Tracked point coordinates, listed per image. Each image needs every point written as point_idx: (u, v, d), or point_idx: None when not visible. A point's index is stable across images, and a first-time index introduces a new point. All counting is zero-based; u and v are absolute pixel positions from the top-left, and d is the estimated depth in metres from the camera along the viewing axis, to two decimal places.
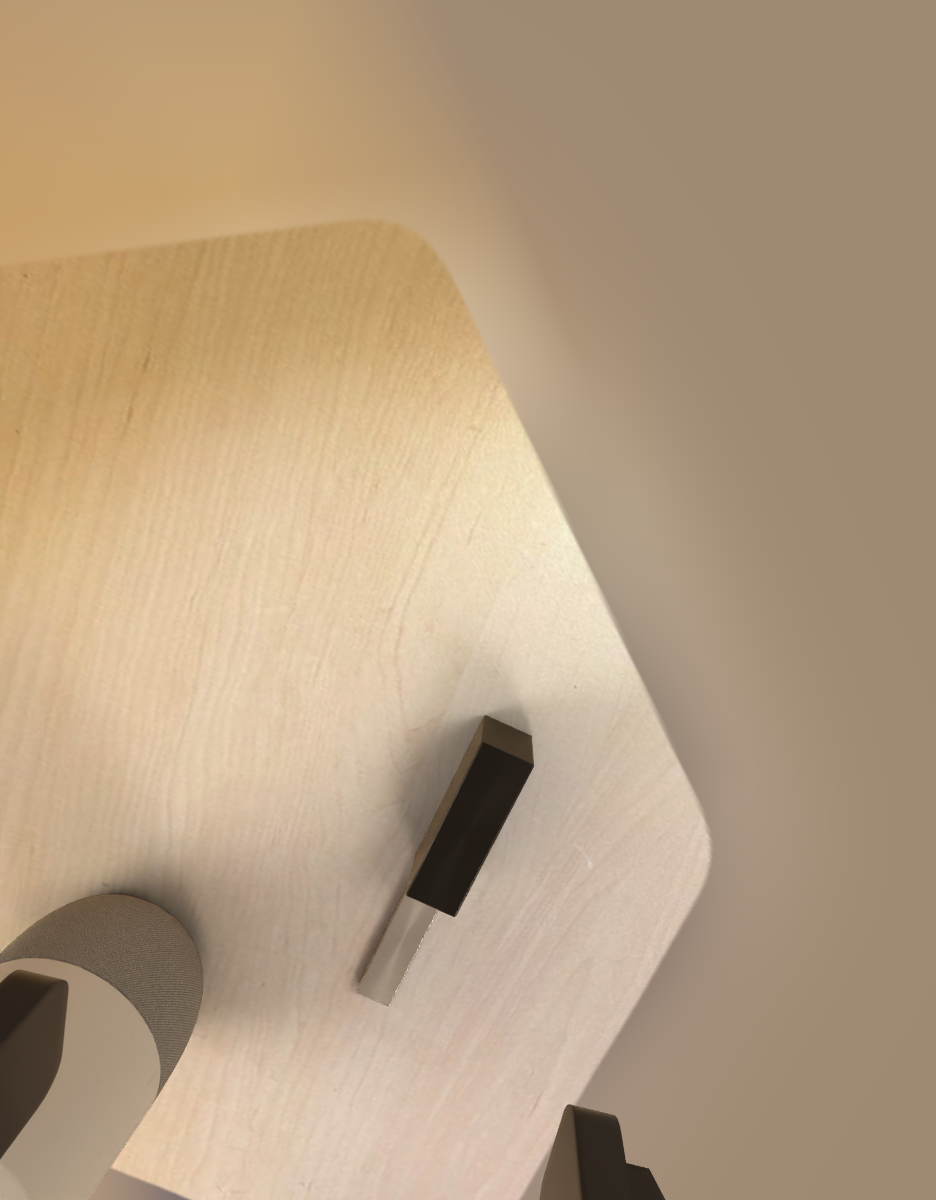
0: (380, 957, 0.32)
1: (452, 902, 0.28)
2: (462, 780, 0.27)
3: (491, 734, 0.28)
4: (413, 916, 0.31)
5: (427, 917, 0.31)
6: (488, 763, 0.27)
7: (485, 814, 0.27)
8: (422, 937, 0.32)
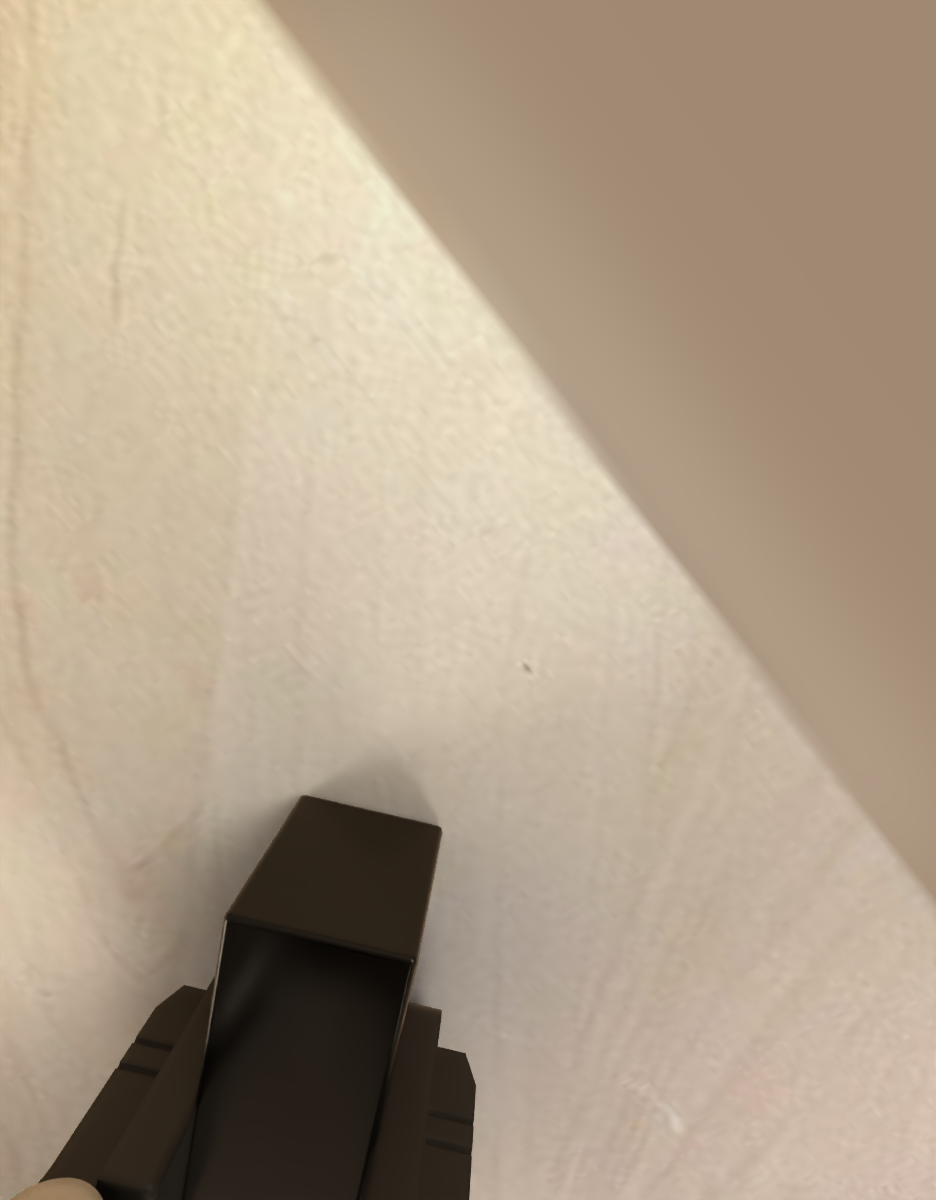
0: None
1: None
2: (206, 1041, 0.08)
3: (287, 865, 0.09)
4: None
5: None
6: (266, 978, 0.08)
7: (305, 1132, 0.08)
8: None
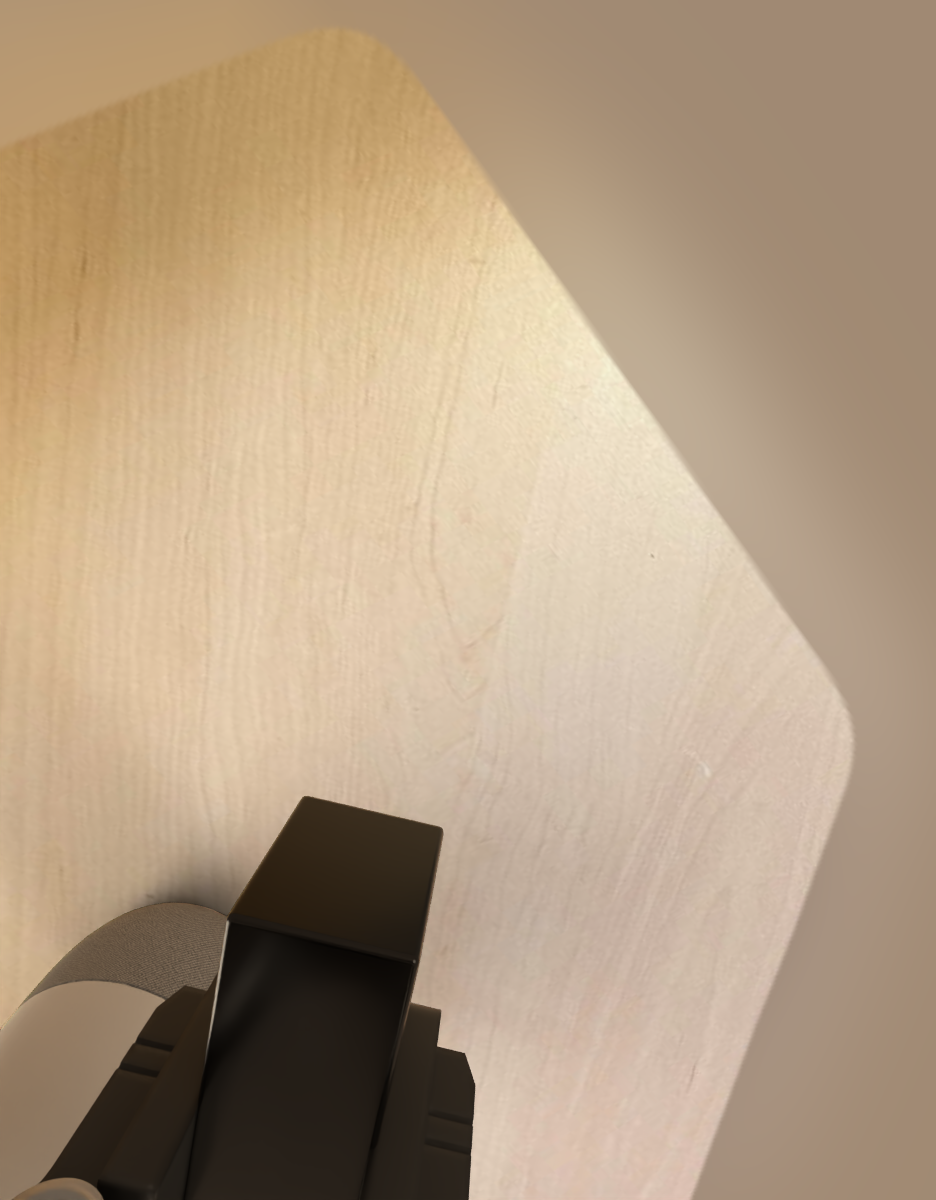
0: None
1: None
2: (208, 1042, 0.08)
3: (289, 866, 0.09)
4: None
5: None
6: (268, 979, 0.08)
7: (306, 1132, 0.08)
8: None
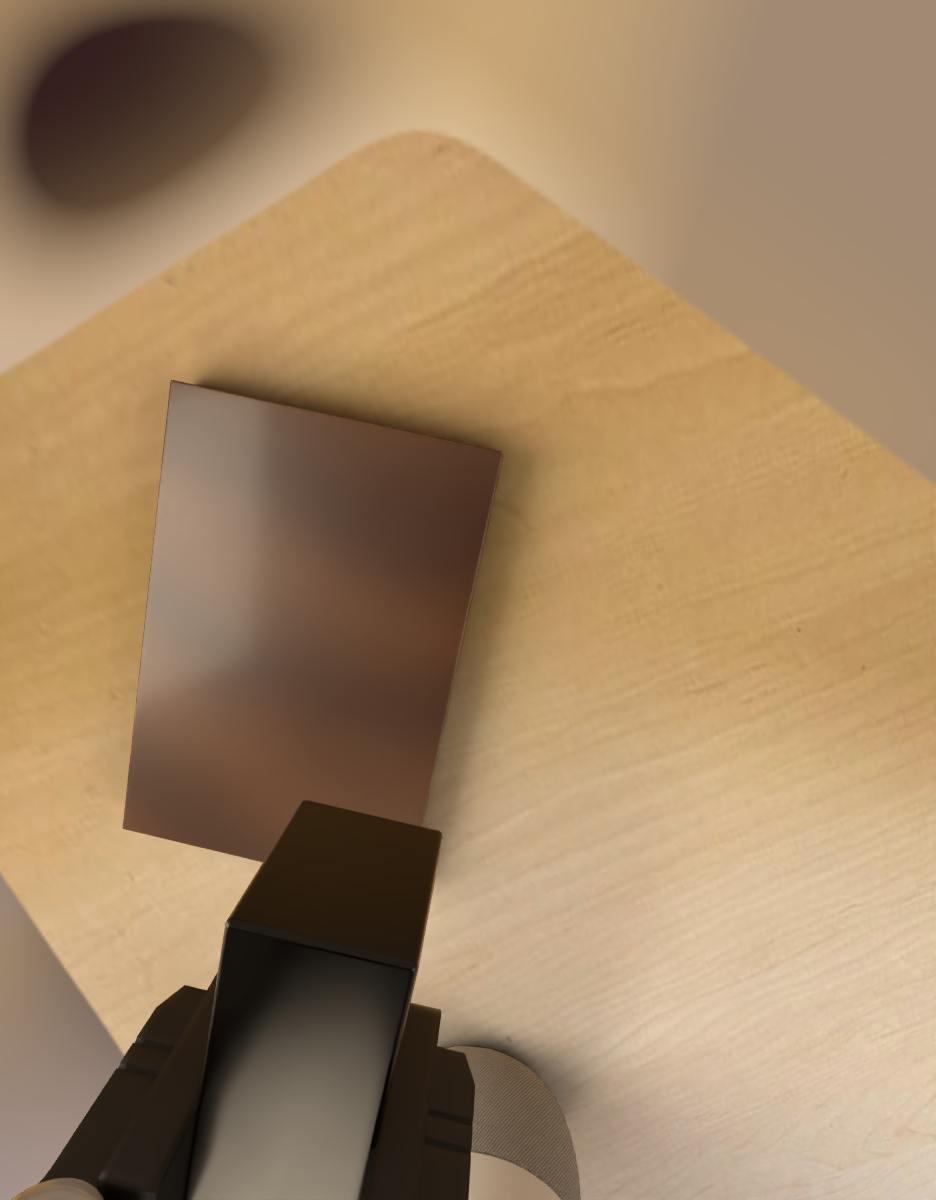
0: None
1: None
2: (207, 1047, 0.08)
3: (288, 871, 0.09)
4: None
5: None
6: (267, 984, 0.08)
7: (306, 1138, 0.08)
8: None
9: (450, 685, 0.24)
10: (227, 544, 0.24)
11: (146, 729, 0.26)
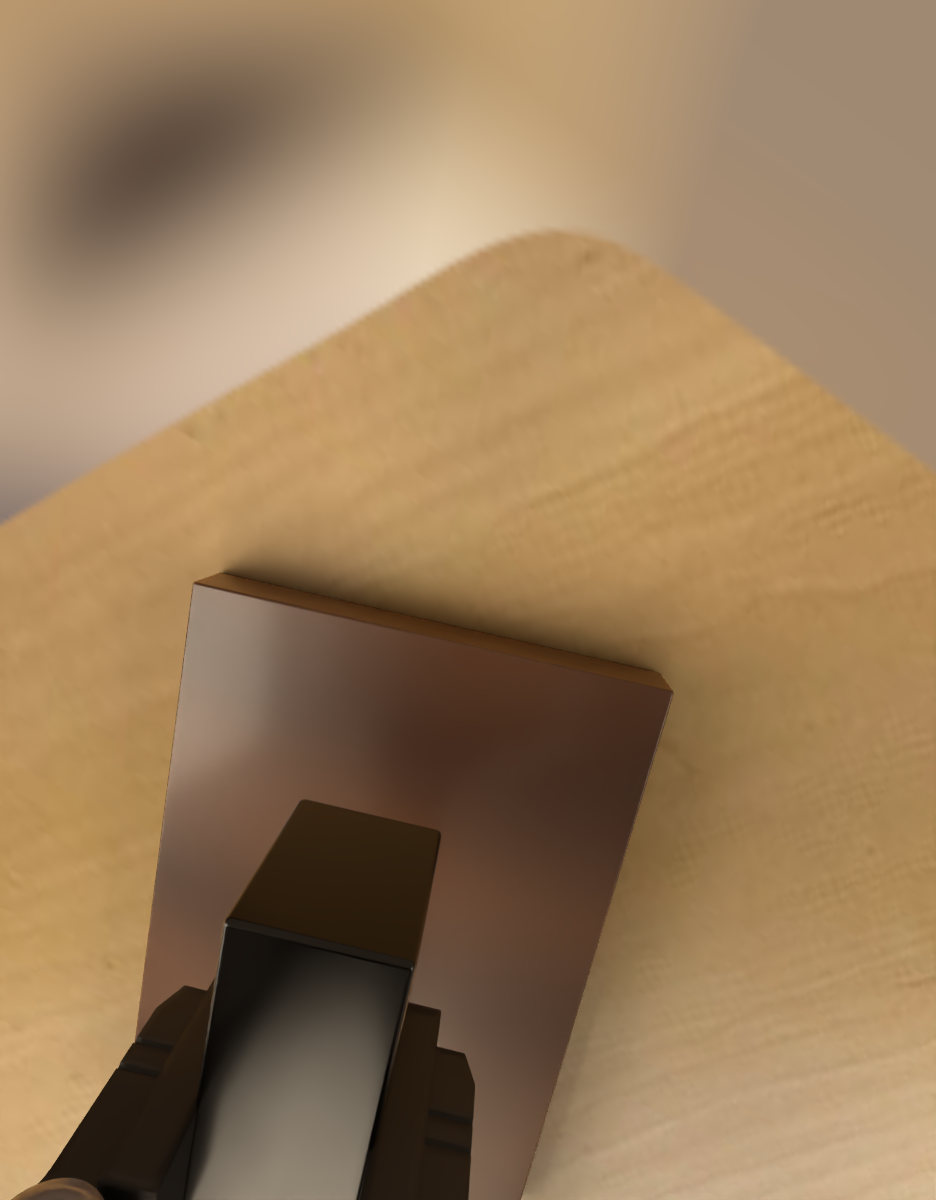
0: None
1: None
2: (205, 1046, 0.08)
3: (286, 870, 0.09)
4: None
5: None
6: (265, 984, 0.08)
7: (304, 1137, 0.08)
8: None
9: (581, 992, 0.17)
10: (271, 802, 0.17)
11: None
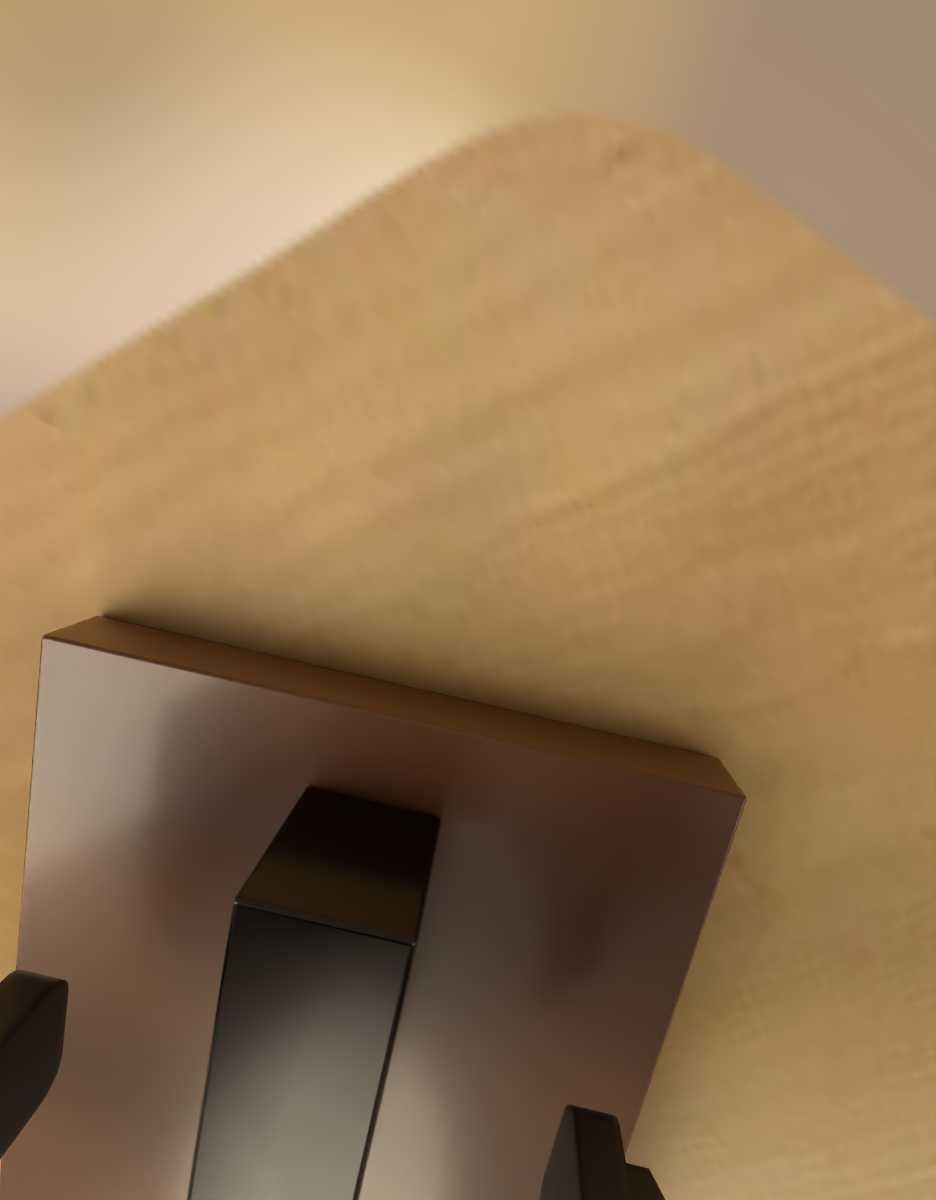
0: None
1: None
2: (215, 1020, 0.09)
3: (292, 853, 0.09)
4: None
5: None
6: (272, 959, 0.08)
7: (310, 1107, 0.09)
8: None
9: None
10: (167, 944, 0.12)
11: None
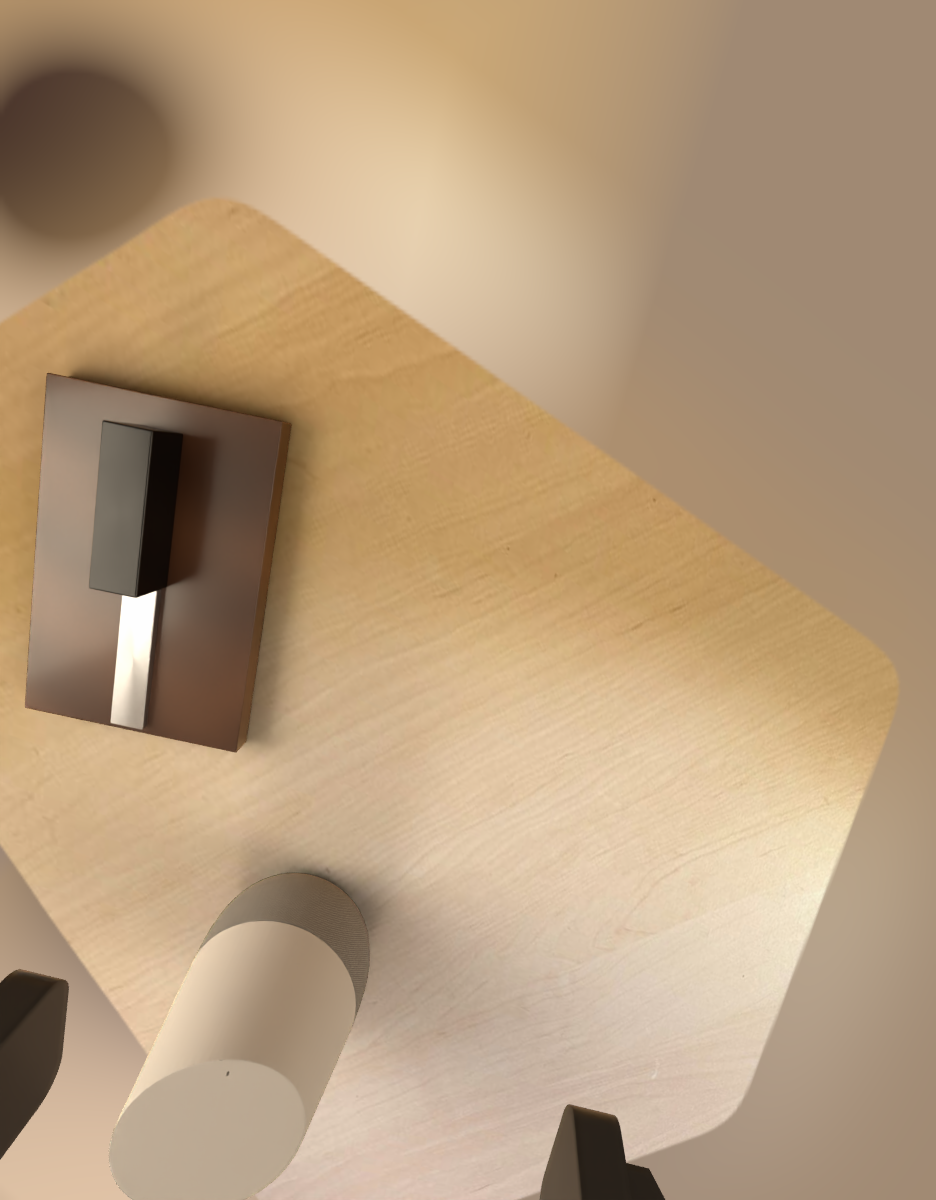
0: (120, 682, 0.35)
1: (128, 583, 0.31)
2: (99, 462, 0.30)
3: (124, 423, 0.31)
4: (134, 633, 0.34)
5: (146, 631, 0.34)
6: (114, 438, 0.30)
7: (127, 489, 0.30)
8: (149, 652, 0.34)
9: (257, 591, 0.34)
10: (92, 490, 0.33)
11: (39, 630, 0.35)
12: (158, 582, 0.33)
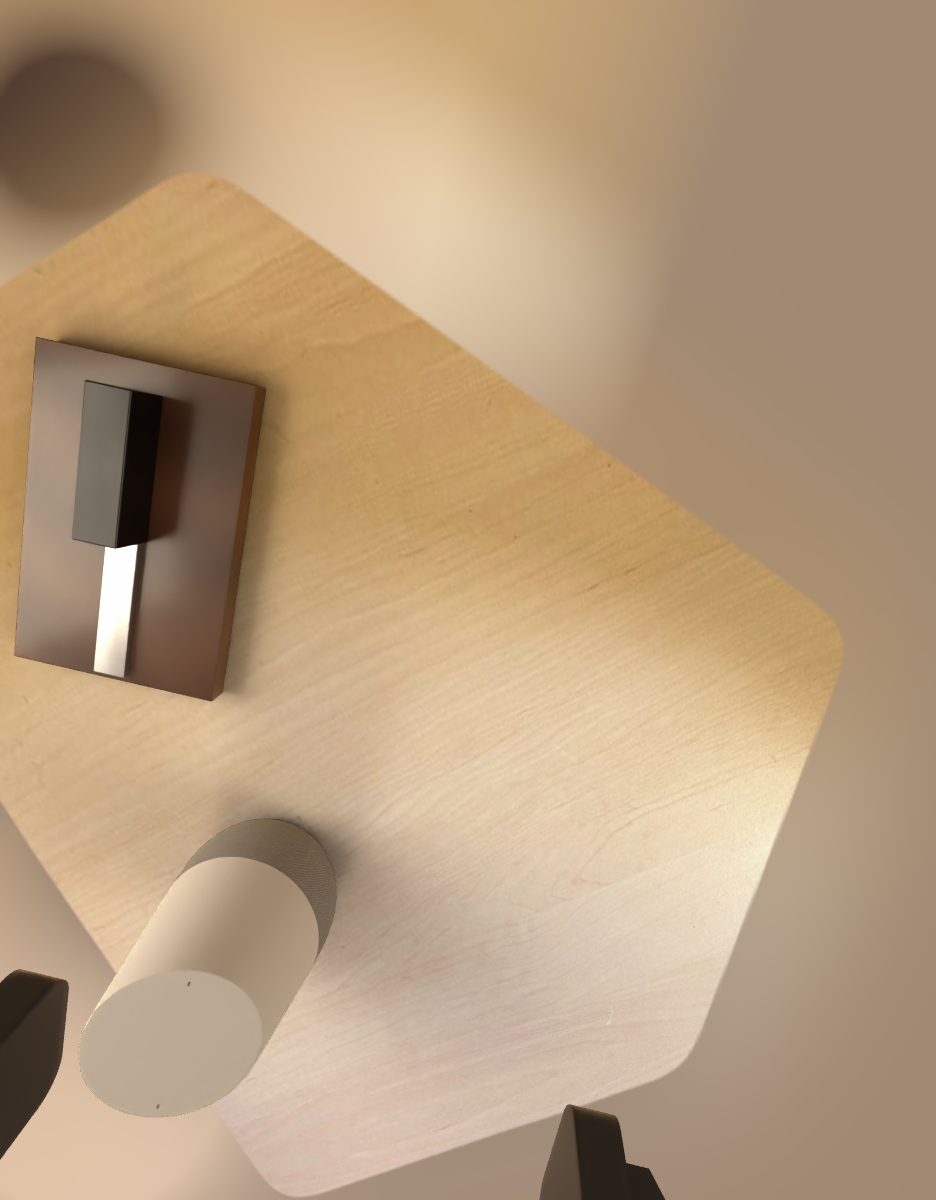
0: (102, 632, 0.37)
1: (109, 535, 0.33)
2: (82, 420, 0.32)
3: None
4: (116, 586, 0.36)
5: (127, 584, 0.36)
6: (95, 397, 0.32)
7: (108, 445, 0.32)
8: (129, 604, 0.36)
9: (231, 547, 0.36)
10: (78, 449, 0.35)
11: (28, 582, 0.37)
12: (138, 536, 0.35)
